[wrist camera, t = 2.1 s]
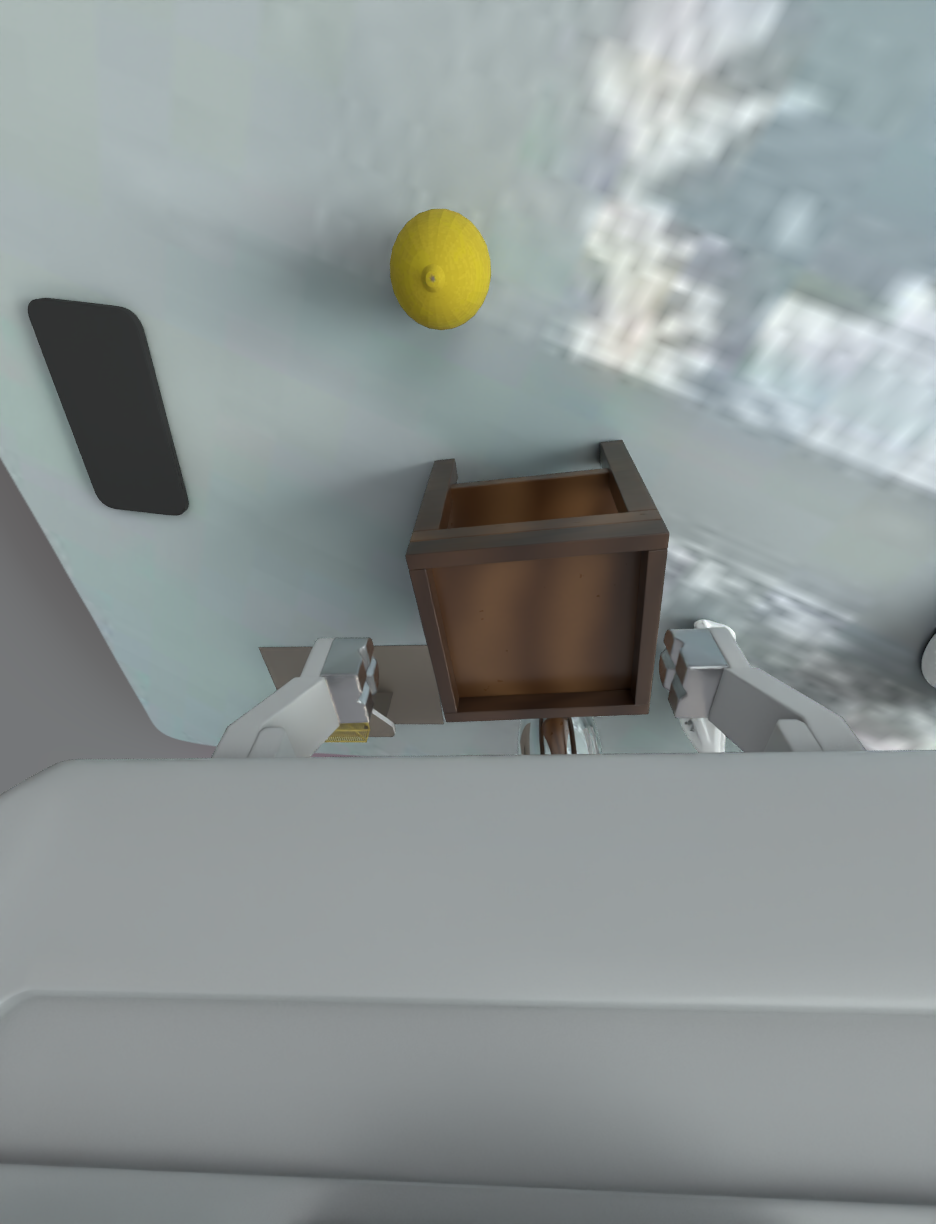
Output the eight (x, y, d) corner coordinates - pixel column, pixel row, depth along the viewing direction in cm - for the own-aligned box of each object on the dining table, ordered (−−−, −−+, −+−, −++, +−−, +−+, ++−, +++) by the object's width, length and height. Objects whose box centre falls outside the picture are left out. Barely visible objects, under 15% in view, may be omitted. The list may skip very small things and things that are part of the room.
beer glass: (502, 668, 52) (500, 801, 40) (546, 626, 48) (558, 759, 36) (555, 697, 54) (568, 831, 42) (601, 659, 50) (629, 795, 38)
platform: (258, 647, 52) (230, 694, 47) (431, 645, 50) (422, 693, 45) (291, 723, 60) (270, 772, 54) (443, 724, 58) (437, 774, 53)
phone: (133, 309, 33) (188, 517, 42) (140, 308, 34) (193, 513, 43) (19, 296, 33) (99, 507, 42) (29, 295, 34) (106, 503, 43)
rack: (622, 439, 37) (670, 532, 26) (615, 594, 45) (648, 714, 34) (434, 460, 39) (404, 555, 28) (460, 605, 47) (445, 722, 36)
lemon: (505, 296, 32) (504, 315, 26) (425, 332, 34) (406, 358, 27) (473, 190, 29) (462, 183, 23) (387, 235, 31) (355, 240, 24)
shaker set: (689, 605, 46) (731, 697, 37) (737, 606, 45) (791, 699, 37) (662, 697, 53) (692, 792, 44) (703, 698, 53) (742, 794, 44)
